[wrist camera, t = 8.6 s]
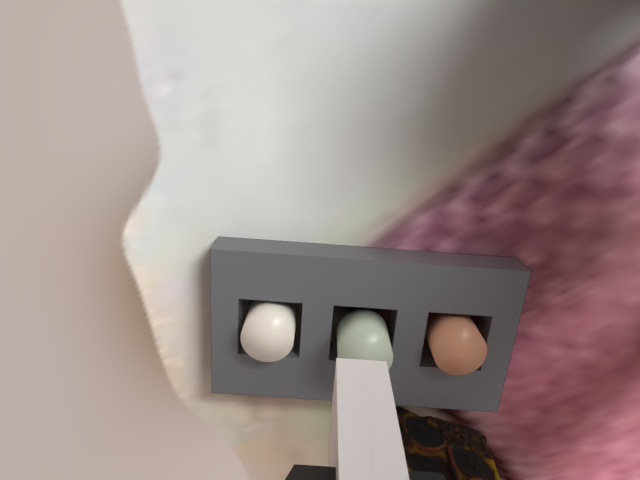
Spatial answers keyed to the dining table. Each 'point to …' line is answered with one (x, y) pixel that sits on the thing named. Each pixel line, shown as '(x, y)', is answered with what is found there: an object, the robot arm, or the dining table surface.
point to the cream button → (269, 330)
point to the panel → (367, 292)
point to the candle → (445, 448)
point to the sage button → (364, 337)
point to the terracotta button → (455, 343)
